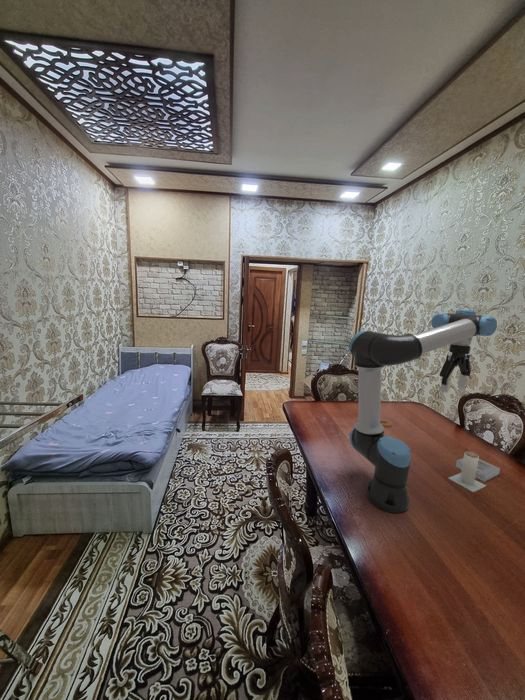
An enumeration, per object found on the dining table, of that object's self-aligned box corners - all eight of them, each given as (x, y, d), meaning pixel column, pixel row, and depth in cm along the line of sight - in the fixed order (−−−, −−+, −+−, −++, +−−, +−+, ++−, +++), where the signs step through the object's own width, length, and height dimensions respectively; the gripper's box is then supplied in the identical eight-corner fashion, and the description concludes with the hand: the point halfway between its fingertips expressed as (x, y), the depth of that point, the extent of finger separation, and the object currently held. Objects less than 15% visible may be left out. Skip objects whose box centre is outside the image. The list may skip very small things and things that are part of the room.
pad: (473, 492, 115) (473, 491, 115) (448, 478, 124) (448, 477, 124) (486, 486, 120) (486, 485, 120) (461, 473, 129) (461, 472, 129)
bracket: (362, 426, 173) (363, 415, 172) (360, 421, 182) (361, 410, 180) (393, 430, 171) (394, 419, 170) (389, 424, 179) (391, 414, 178)
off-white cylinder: (470, 486, 119) (475, 458, 116) (457, 479, 123) (462, 452, 121) (476, 483, 121) (481, 455, 119) (464, 477, 125) (468, 449, 123)
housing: (484, 481, 123) (486, 474, 122) (455, 467, 133) (456, 460, 133) (498, 475, 128) (500, 468, 128) (469, 461, 139) (471, 455, 138)
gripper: (452, 346, 117) (444, 395, 121) (484, 345, 128) (476, 389, 132) (435, 343, 124) (427, 390, 127) (466, 342, 135) (459, 385, 139)
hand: (452, 390), depth 130 cm, fingers open, 13 cm apart
